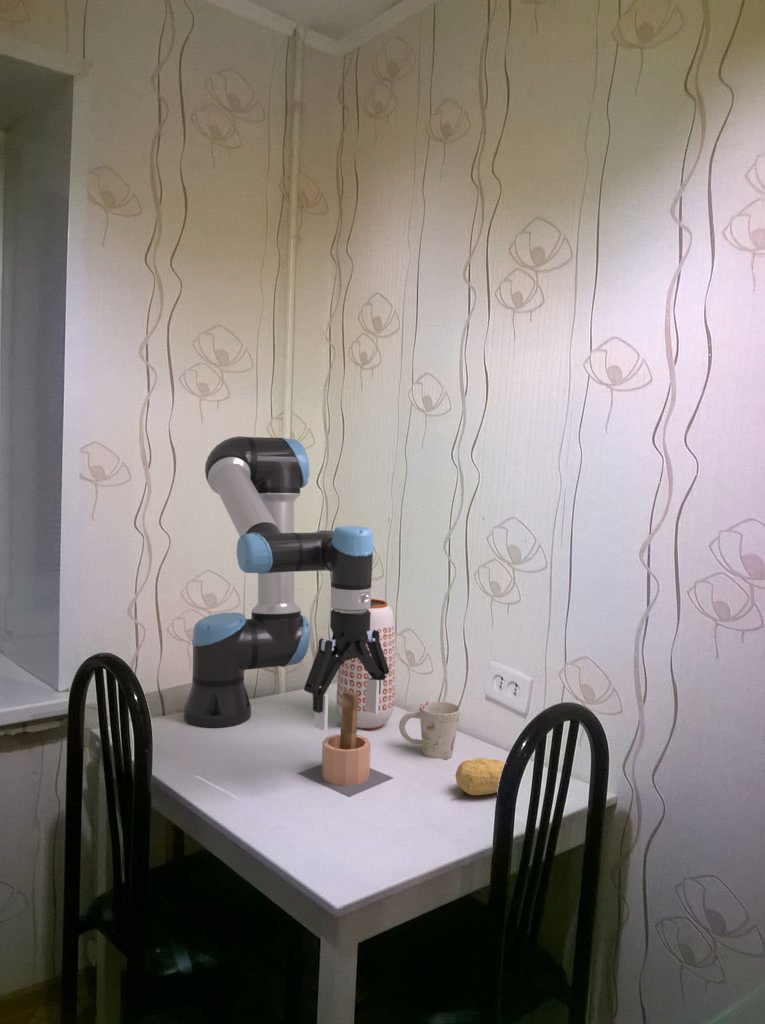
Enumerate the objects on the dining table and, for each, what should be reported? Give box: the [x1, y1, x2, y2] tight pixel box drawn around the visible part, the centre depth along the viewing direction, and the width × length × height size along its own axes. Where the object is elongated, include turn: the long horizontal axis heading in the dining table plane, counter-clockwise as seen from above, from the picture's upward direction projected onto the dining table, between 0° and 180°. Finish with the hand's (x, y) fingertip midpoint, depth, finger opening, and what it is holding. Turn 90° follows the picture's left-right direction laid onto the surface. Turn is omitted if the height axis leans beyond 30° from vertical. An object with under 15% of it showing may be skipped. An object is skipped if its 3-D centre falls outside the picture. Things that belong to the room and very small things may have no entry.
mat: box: [297, 763, 394, 798], centre depth 147 cm, size 14×12×1 cm
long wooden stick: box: [340, 691, 359, 750], centre depth 147 cm, size 4×4×15 cm
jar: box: [321, 733, 372, 786], centre depth 147 cm, size 9×9×6 cm
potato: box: [455, 757, 506, 796], centre depth 143 cm, size 7×11×6 cm, turn 106°
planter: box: [336, 598, 396, 731], centre depth 176 cm, size 13×13×28 cm
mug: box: [398, 700, 461, 760], centre depth 160 cm, size 8×13×10 cm, turn 78°
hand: (347, 720), depth 147 cm, fingers open, 13 cm apart
